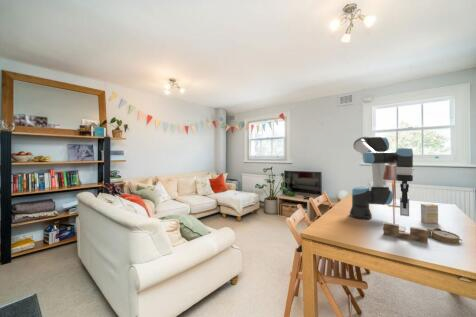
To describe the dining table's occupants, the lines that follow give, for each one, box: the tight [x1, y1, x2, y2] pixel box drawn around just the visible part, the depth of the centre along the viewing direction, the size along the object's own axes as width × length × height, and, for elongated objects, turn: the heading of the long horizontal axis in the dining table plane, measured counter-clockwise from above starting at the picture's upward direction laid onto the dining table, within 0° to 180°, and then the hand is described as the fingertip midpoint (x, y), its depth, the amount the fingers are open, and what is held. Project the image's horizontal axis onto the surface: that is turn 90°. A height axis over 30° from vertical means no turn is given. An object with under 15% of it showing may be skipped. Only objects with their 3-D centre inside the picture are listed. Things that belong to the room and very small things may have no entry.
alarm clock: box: [426, 227, 463, 244], centre depth 119 cm, size 11×5×15 cm
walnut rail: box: [383, 222, 429, 244], centre depth 120 cm, size 20×3×7 cm, turn 51°
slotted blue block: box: [399, 194, 410, 217], centre depth 120 cm, size 10×4×10 cm, turn 141°
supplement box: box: [420, 203, 439, 224], centre depth 146 cm, size 8×5×13 cm, turn 84°
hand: (404, 211), depth 120 cm, fingers closed on slotted blue block, 10 cm apart
